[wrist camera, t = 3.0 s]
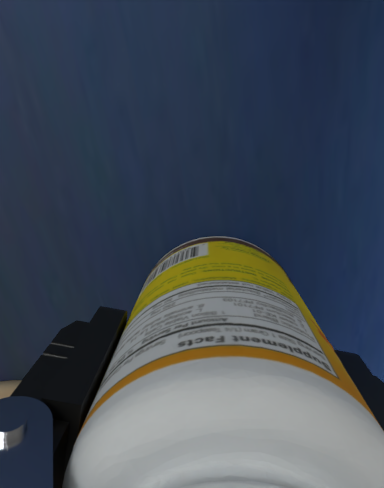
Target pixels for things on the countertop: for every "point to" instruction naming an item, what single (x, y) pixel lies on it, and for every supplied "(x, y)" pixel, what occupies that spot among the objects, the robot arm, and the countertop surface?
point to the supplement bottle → (225, 386)
